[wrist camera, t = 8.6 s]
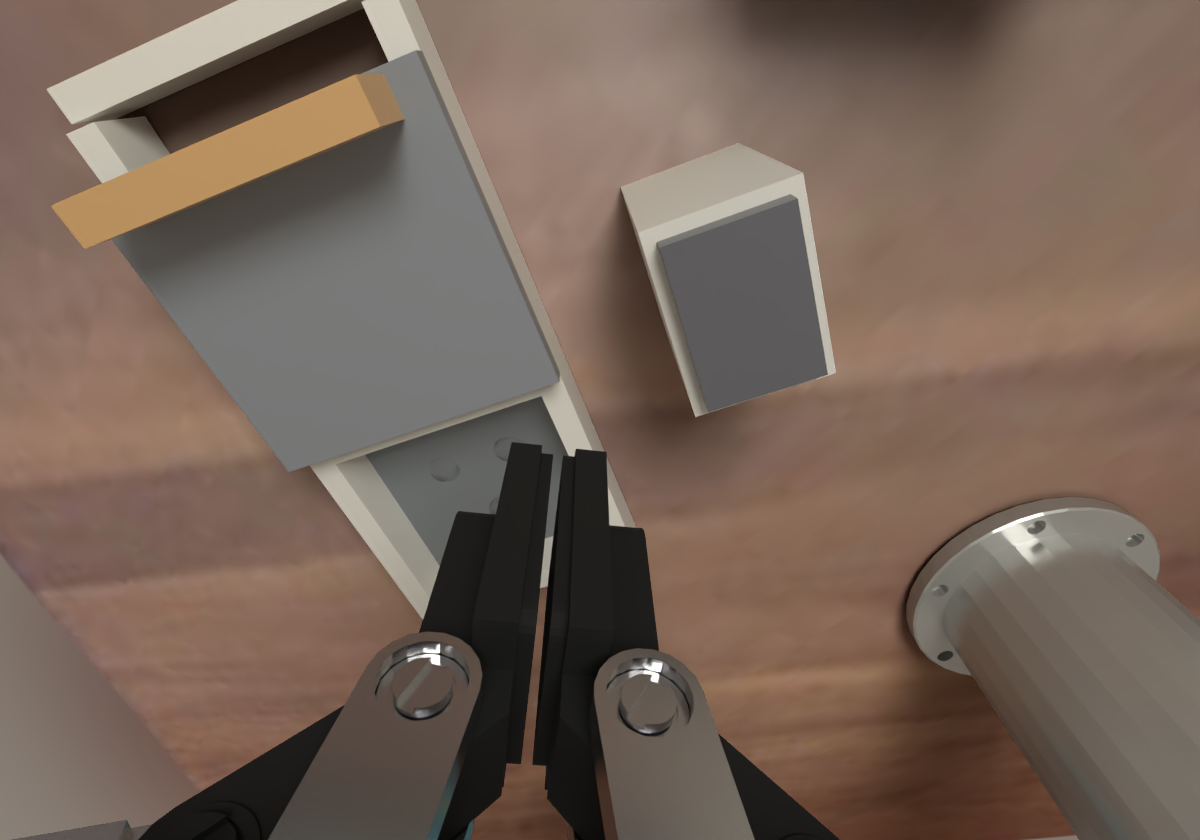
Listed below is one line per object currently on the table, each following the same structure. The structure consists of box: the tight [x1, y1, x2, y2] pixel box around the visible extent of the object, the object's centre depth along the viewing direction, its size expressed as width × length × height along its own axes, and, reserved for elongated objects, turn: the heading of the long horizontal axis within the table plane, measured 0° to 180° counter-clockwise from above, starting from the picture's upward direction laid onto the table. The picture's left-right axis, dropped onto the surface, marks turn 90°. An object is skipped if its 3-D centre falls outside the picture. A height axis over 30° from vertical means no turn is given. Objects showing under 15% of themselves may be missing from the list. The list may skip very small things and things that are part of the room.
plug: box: [621, 143, 836, 417], centre depth 20 cm, size 6×4×8 cm
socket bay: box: [47, 0, 635, 619], centre depth 24 cm, size 24×11×2 cm, turn 19°
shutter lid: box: [51, 50, 560, 472], centre depth 19 cm, size 11×11×3 cm
